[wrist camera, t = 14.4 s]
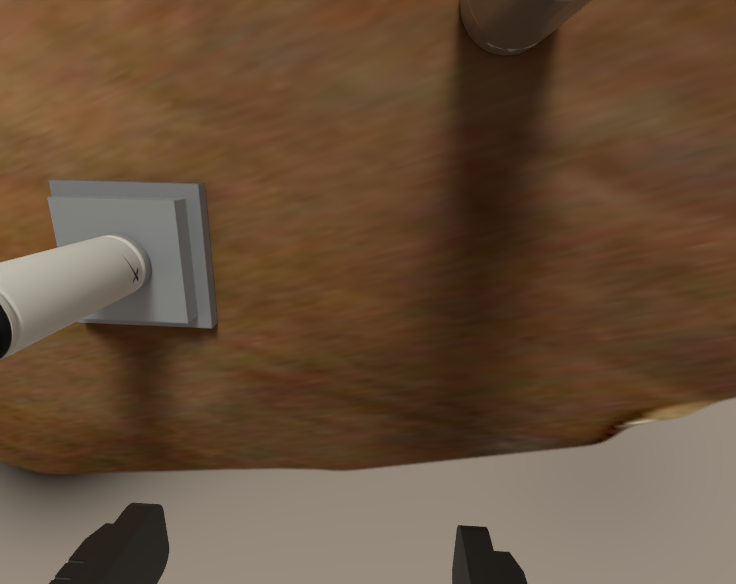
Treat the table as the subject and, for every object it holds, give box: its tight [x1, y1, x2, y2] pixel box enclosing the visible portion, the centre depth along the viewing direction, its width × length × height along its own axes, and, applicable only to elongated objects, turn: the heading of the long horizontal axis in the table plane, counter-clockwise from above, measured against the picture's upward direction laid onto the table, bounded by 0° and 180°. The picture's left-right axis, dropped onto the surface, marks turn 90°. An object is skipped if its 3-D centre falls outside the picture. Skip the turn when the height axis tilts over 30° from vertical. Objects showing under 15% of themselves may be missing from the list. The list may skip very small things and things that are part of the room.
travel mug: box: [0, 234, 151, 360], centre depth 34 cm, size 6×7×20 cm
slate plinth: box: [47, 179, 218, 328], centre depth 45 cm, size 16×16×4 cm
